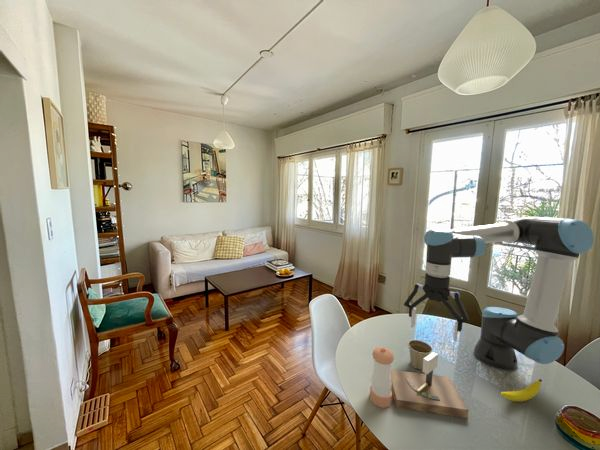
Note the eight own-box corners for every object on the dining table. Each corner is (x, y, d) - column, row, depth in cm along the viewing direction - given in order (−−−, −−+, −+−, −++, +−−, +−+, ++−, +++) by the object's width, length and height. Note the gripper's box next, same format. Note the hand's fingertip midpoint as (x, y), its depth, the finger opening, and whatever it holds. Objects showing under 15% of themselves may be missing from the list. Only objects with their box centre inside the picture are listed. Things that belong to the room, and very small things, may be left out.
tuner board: (448, 384, 95) (449, 376, 95) (467, 418, 80) (468, 409, 80) (388, 376, 99) (388, 368, 98) (396, 407, 84) (397, 398, 83)
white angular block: (430, 378, 93) (432, 351, 92) (436, 381, 92) (438, 354, 91) (415, 391, 87) (417, 362, 86) (420, 394, 85) (422, 365, 84)
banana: (494, 402, 87) (496, 385, 86) (534, 392, 92) (536, 376, 91) (503, 409, 84) (505, 391, 83) (543, 398, 89) (546, 382, 88)
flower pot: (434, 374, 100) (435, 354, 99) (409, 371, 102) (410, 351, 101) (427, 359, 109) (428, 341, 108) (404, 356, 111) (405, 338, 110)
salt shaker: (377, 410, 83) (380, 356, 81) (365, 393, 90) (368, 343, 88) (395, 405, 85) (399, 352, 83) (383, 389, 92) (386, 340, 90)
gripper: (397, 269, 91) (394, 324, 93) (480, 285, 75) (474, 351, 78) (403, 265, 97) (400, 317, 99) (482, 279, 81) (476, 340, 83)
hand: (433, 332), depth 88 cm, fingers open, 13 cm apart
